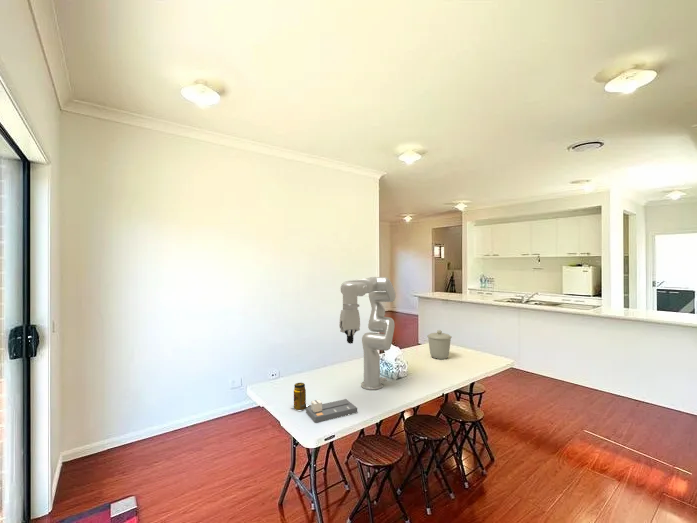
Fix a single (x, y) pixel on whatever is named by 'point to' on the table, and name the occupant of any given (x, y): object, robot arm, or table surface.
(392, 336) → the robot arm
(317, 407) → the fader knob
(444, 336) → the canister
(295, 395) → the condiment
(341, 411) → the fader console
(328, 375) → the table surface
